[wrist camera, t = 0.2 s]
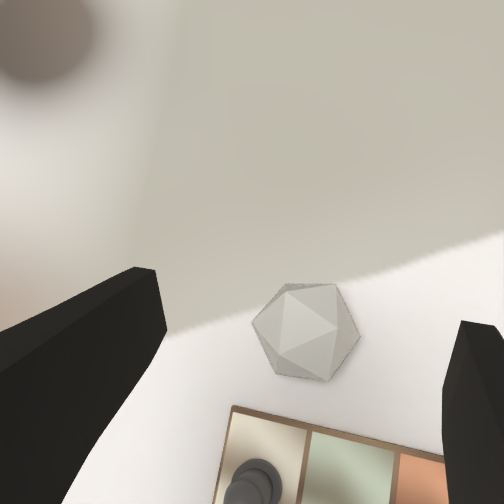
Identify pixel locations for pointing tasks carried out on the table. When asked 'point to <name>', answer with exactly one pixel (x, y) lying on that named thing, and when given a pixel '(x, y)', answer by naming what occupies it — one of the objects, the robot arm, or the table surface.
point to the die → (306, 330)
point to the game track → (330, 463)
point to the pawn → (254, 484)
